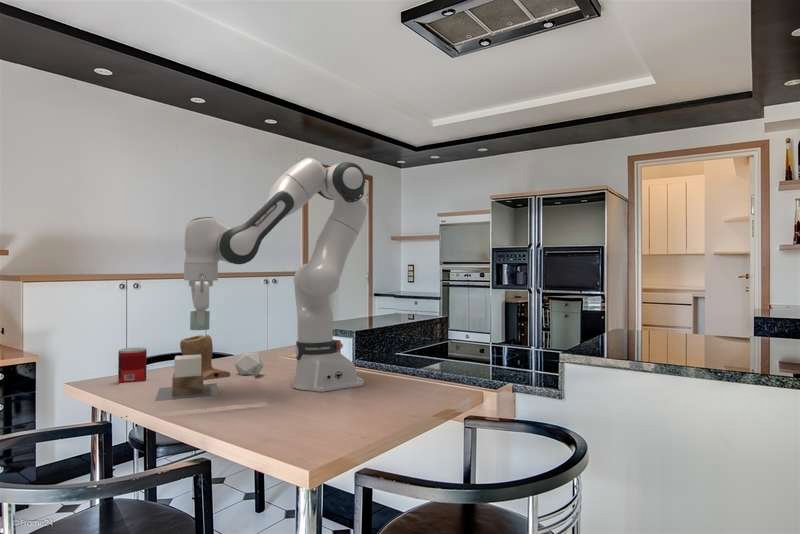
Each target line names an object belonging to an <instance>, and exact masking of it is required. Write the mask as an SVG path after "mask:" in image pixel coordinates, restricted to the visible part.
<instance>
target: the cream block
mask: <svg viewBox="0 0 800 534" xmlns="http://www.w3.org/2000/svg"><path fill="white" fill-rule="evenodd" d="M173 374H174V378H177V377H190V376H201V355H185V356H183V355H175V357H174V372H173Z"/></svg>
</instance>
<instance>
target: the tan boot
mask: <svg viewBox="0 0 800 534" xmlns="http://www.w3.org/2000/svg"><path fill="white" fill-rule="evenodd" d="M179 347H180V352H181V354H182V356H185V355H201V371H203V381H207V380H214V379H221V378H222V379H223V378H227V377H230V376H231V372H230V371H227V370H222V369H218V368H214V367H213V365H212V357H213V350H214V348H213V341H212V337H211V335H209V334H205V335H193V336H190V337H187V338H186V337H185V338H183V339H181V340H180V343H179Z"/></svg>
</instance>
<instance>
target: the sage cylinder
mask: <svg viewBox="0 0 800 534" xmlns="http://www.w3.org/2000/svg"><path fill="white" fill-rule="evenodd" d="M210 312H211V311H210V310H205V317H204V324H203V325H198V324H197V311H196V310H193V311H190V316H189V317H190V318H189V319H190V320H189V330H190V331H207V330H210V320H211V319H210V318H211V317H210V315H211V314H210Z"/></svg>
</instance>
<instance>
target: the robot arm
mask: <svg viewBox="0 0 800 534" xmlns="http://www.w3.org/2000/svg"><path fill="white" fill-rule="evenodd" d="M365 185H366V176H365V171H364V170H363V169H362V167H361V166H360V165H359V164H356V163H354V162H352V161H351V162H349V161H346V162H345V161H344V162H340V163H336V164H334V165H331V166H328V167H325V166H323V164H322V163H321V162H320V161H318V160H317V159H315V158H312V157H305V158H303V159H302V160H299V162H296V163H295V164H294V165H292V166H291V167H290V168H288V169H287V170H286V171H285V172H284V173H282V175H280V176H279V177H278V179H277V180H276V181H275V182H274V183H273V184H272V186H271V188H270V189H269V190H268V197H267V200H266V201H265V203H264V204H263V205H262V207H261V208H259V209H258V210H257V211H256V212H255V213H254V214H253V215H252V216H251V217H250V218H249V219H248V220H247V221H246V222H244V223H243V224H240V225H238V226H234V227H232V228H231V227H230V226H227V225H225V224H224V223H221V222H220V221H219V220H217V218H215V217H212V216H203V217H197V218H193V219H191V220H190V221H189V222H188V223H187V224H186V228H185V232H184V233H185V235H184V252H185V259H184V262H183V281H188V287H190V289H191V297H192V298H191V299H192V304H193V305H192V306H193V309H195V311H197V324H198V325H203V324H204V317H205V311H206V310H208V309H209V308H210V287H213V286H214V281H215V282H216V281H218V277H219V276H218V274H219V272H218V271H219V262H220V261H222V262H226V263H229V264H233V265H244V264H247V263H249V262H251V261H252V260H253V259H254V258H255V257H256V255H257V253H258V251H259V249H260V246H261V243H262V242H263V240H264V238H265V237H267V235H269V233H270V232H271V231H272V230H274V228H275V227H276V226H277V225H279V223H280V222H281V221H282V220H283V219H284V218H286V217H288V216H291V215H292V214H293V213H296V212H297V211H298V210H300V209H301V208H302V207H303V206H304V205H306V204H307V203H308V202H309V201H310V200H311V199H312V198H313V197H314V195H317V194H318V195H320V196H321V197H322V198H325V199H326V200H330V201H333V208H332V212H331V213H330V215H329V216H328V219H327V221H326V222H325V224H324V226H323V228H322V230H321V232H320V234H319V235H318V236H317V237H318V238H317V239H316V242H315V243H316V244H315V246H314V249H313V252H312V254H311V257H310V259H309V261H308V262H307V263H304V264H302V265H301V266H299V267H298V268H297V270H296V271H295V273H294V275H293V284H294V296H295V305H296V315H297V341H296V342H295V358H296V359H295V360H296V366H295V374H294V377H293V378H294V379H293V381H292V384H291V386H292V388H294V389H297V390H301V391H312V392H321V393H322V392H330V391H336V390H342V389H349V388H357V387H362V386H364V384H365V381H364V379H363V378H362V377H360V376H358V374H357V369H356V366H355V364H354V362H352V361H351V360H350V359H349V358H347V357H346V356H345V355H344V354H342V353H341V352H339V351H340V350H341V349H343V347H344V344H343V343H342V342H339V341H338V342H337V341H336V340H334V338H333V337H334V331H333V330H334V329H333V327H334V325H333V324H334V323H333V322H334V320H333V319H334V316H333V313H332V312H333V311H332V309H331V304H330V296H331V295H332V294H334V293H335V292H337V290H338V288H339V286H340V282H341V281H340V279H341V276H342V274H343V270H344V268H345V264H346V261H347V258H348V256H349V253H350V251H351V250H352V248H353V246H354V244H355V241H356V240H357V238H358V236H359V234H360V232H361V230H362V227H363V225H364V222H365V220H366V216H367V212H368V209H367V205H366V203H365V202H364V200H362V198H363V196H364V195H365V191H364V188H365Z"/></svg>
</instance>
